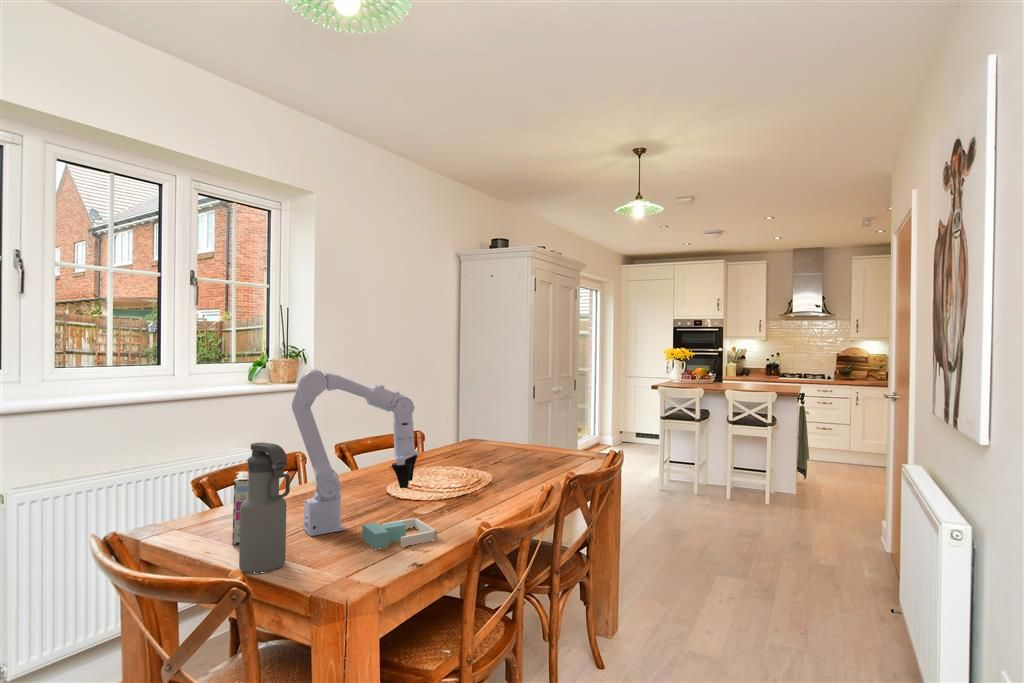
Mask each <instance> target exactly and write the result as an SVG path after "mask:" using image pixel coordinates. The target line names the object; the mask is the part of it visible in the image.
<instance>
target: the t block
mask: <svg viewBox="0 0 1024 683" xmlns="http://www.w3.org/2000/svg"><path fill="white" fill-rule="evenodd" d="M397 521H398V522H395V521H392V522H393V523H389V522H386V523H387V524H384V523H381V524H378V523H377V522H375V521H374V522H369V523H364V524H362V526H361V528H362V531H361V532H362V534H361V538H362V539H363V540H364V541H365V542H364V541H363V540H362V539H361V540H362V541H363V542H364V543H366V542H367V543H368V544H369V545H370V546H372V547H373V548H374V549H379V548H384V549H386V548H385V547H388V548H389V544H391V543H390V542H393V543H396V542H395V541H398V542H400V541H399V540H401V537H403V536H407V532H406V531H407V529H406V524H404V523H403V522H401V521H400V520H397ZM367 543H366V544H367ZM368 544H367V545H368ZM369 545H368V546H369ZM370 546H369V547H370ZM372 547H371V548H372ZM373 548H372V549H373ZM374 549H373V550H374ZM379 550H380V549H379Z"/></svg>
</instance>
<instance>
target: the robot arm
mask: <svg viewBox="0 0 1024 683" xmlns="http://www.w3.org/2000/svg"><path fill="white" fill-rule="evenodd" d="M326 389H327V391H329V392H330V391H334V390H335V391H336V390H340V391H343V392H346V393H349V394H352V395H355V396H358V397H362V398H364V399H365V401H366V403H367V405H369V406H373V407H375V408H377V409H380V410H383V411H386V412H392V413H393V414H392V415H393V416H392V417H393V422H392V428H393V448H394V453H393V457H394V458H395V459H396V462H393V463H392V464H391V467H392V468H391V469H393V471H394V473H395V476H396V479H397V482H398V485H399V488H400V489H408V487H409V483H410V482H412V481H413V478H414V470H415V465H416V462H417V459H418V457H419V456H418V455H420V452H419V451H418V450H415V433H414V432H415V431H414V430H415V429H414V421H413V416H414V415H413V413H414V410H415V405H414V402H413V400H412V399H410V397H408V396H406V395H404V394H401V393H400V392H399V391H392V390H389V389H387V388H385V385H382V384H379V386H378V385H373V386H371V387H368V386H366V385H363V384H361V383H358V382H356V381H353V380H352V379H348V378H346V377H343V376H341V375H339V374H334V373H331V372H326V371H323V372H322V371H321V370H318V369H309V370H307V371H306V372H305V373H304V374H303V376H302V377H301V378H300V379H299V381H298V384H297V387H296V390H295V393H294V396H293V400H292V402H291V411H292V413H293V415H294V418H295V420H296V423H297V424H296V425H297V426H298V429H299V432H300V434H301V438H302V441H303V444H304V447H305V449H306V452H307V455H308V458H309V462H310V464H311V467H312V470H313V474H314V477H315V482H314V483H315V490H316V492H315V493H314V494H313V497H312V498H309V499H306V500H305V501H304V503H303V504H304V505H303V527H302V528H303V529H304V531H305V532H306V533H307V534H308V535H309V537H314V536H319V535H324V534H325V535H326V534H329V533H336V532H341V531H346V530H347V528H346V527H345V526H344V525H342V523H341V522H342V519H341V518H342V516H341V515H342V493H341V482H340V480H339V475H338V472H336V471H335V470H334V469H333V468H332V465H331V462H330V459H329V458H328V454H327V452H326V449H325V446H324V443H323V440H322V437H321V435H320V431H319V429H318V428H319V427H318V426H317V422H316V420H315V418H314V414H313V410H312V408H311V407H312V406H313V404H314V402H315V400H316V398H317V397H319V396H320V395H321V394H322V393H323V392H324V391H325V390H326Z"/></svg>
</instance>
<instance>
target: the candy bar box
mask: <svg viewBox="0 0 1024 683" xmlns="http://www.w3.org/2000/svg"><path fill="white" fill-rule="evenodd" d="M247 498H248V472H247V471H244V470H243V471H238V472H237V475H235V478H234V480H233V506H232V508H233V509H232V511H233V513H232V543H231V545H234V546H235V544H236V545H239V544H240V506H241V504H242V502H243V501H244V500H246V499H247Z"/></svg>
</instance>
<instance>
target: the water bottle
mask: <svg viewBox="0 0 1024 683" xmlns="http://www.w3.org/2000/svg"><path fill="white" fill-rule="evenodd" d="M250 450H251V456H250V457H249V458H247V472H248V498H247V499H246V500H244V501H243V502H242V504H241V506H240V544H238V545H239V548H238V550H239V551H238V552H239V555H238V559H239V561H238V562H239V563H238V566H239V569H240V571H242V570H243V571H245V572H244V573H246V572H247V573H246V574H251V573H254V572H255V573H259V574H262V573H261V572H266V573H269V572H268V571H270V572H273V571H272V570H274V571H275V569H276V570H278V569H280V568H281V567H282V566H284V564H285V562H286V557H287V556H286V551H287V550H286V548H287V546H286V545H287V542H286V541H287V501H286V499H285V497H287V496H288V495H289V493H290V492H291V491H290V490H291V489H290V488H291V476H290V474H288V473H284V472H285V467H287V466H288V456H287V454H286V452H285V450H284V448H282V446H280V445H279V444H276V443H270V442H269V443H268V442H253V443H251V444H250ZM282 478H285V491H284V492H283V493H282V494H280V479H282ZM243 571H242V572H243Z"/></svg>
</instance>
